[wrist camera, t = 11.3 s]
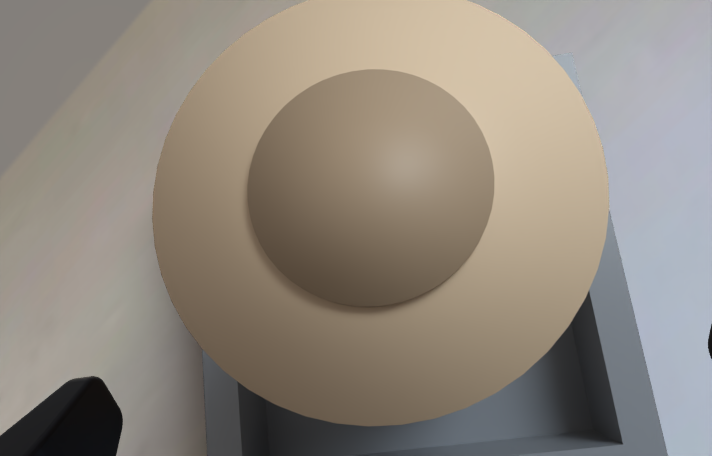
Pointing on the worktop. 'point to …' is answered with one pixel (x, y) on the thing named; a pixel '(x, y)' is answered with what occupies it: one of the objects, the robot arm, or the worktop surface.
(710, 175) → the worktop surface
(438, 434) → the grey rimmed tray
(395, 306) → the beige knobbed cylinder
